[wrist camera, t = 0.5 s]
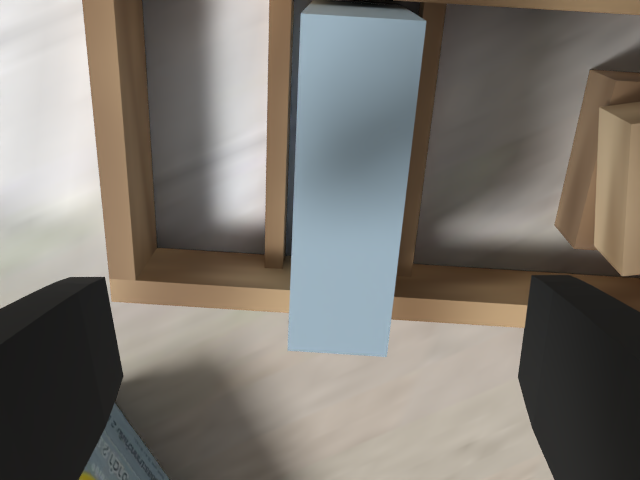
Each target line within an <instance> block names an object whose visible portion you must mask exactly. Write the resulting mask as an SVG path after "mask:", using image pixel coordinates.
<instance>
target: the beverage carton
mask: <svg viewBox="0 0 640 480" xmlns="http://www.w3.org/2000/svg"><path fill="white" fill-rule="evenodd" d="M79 480H170V479H169V478H168V477H167V475H166V474H165V472H164V471H163V470H162V468H161V467H160V466H159V464H158V463H157V461H156V460H155V458H154V457H153V456H152V454H151V453H150V451H149V450H148V449H147V447H146V446H145V445H144V443H143V442H142V440H141V439H140V437H139V436H138V434H137V433H136V432H135V430H134V429H133V428H132V427H131V425H130V424H129V423H128V421H127V420H126V418H125V417H124V415H123V413H122V412H121V410H120V409H119V408H118V407H117V405H116V404H115V403H114V406H113V409H112V411H111V414H110V417H109V419H108V422H107V425H106V427H105V429H104V431H103V433H102V435H101V437H100V439H99V441H98V443H97V445H96V447H95V449H94V451H93V453H92V455H91V457H90V459H89V461H88V463H87V465H86V467H85V469H84V471H83V473H82V474H81V476H80V478H79Z"/></svg>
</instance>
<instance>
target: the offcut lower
mask: <svg viewBox="0 0 640 480" xmlns="http://www.w3.org/2000/svg"><path fill="white" fill-rule="evenodd" d="M634 102H640V73H638V72H621V71H604V70H590V71H589V76H588V80H587V85H586V89H585V93H584V98H583V102H582V107H581V111H580V115H579V120H578V124H577V128H576V133H575V137H574V142H573V146H572V150H571V155H570V159H569V164H568V168H567V172H566V177H565V181H564V185H563V190H562V194H561V199H560V203H559V207H558V212H557V216H556V221H555V226H556V228H557V229H558V230H559V231H560V232H561V234H562V235H563V236H564V237H565V238H566V240H567V241H568V242H569V243H570V245H571V246H572V247H573V248H574V249H585V250H597V249H596V247H595V246H594V231H595V205H596V179H597V153H598V128H599V107H604V106H612V105H619V104H626V103H634Z"/></svg>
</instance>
